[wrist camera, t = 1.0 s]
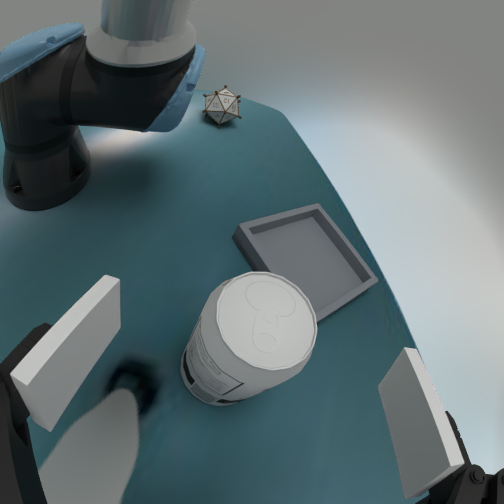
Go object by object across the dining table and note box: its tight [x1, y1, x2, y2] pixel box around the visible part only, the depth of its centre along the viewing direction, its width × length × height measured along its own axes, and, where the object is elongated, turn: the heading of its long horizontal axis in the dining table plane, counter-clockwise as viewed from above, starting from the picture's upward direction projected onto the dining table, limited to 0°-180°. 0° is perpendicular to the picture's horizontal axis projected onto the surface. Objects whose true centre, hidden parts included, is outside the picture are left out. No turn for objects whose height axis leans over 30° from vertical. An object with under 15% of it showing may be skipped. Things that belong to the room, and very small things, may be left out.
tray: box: [232, 203, 378, 323], centre depth 42 cm, size 16×16×3 cm
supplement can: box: [180, 272, 317, 406], centre depth 24 cm, size 8×8×15 cm
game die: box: [202, 85, 242, 129], centre depth 56 cm, size 9×8×10 cm
